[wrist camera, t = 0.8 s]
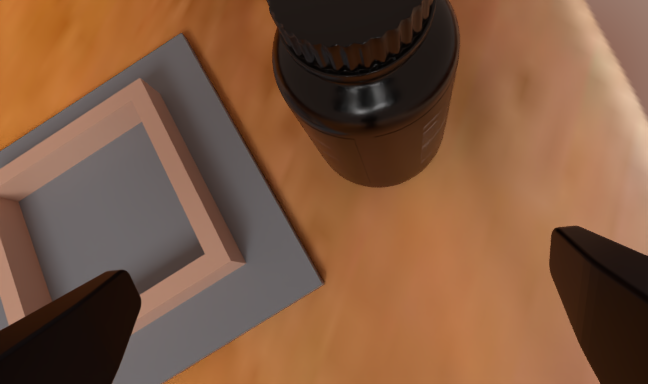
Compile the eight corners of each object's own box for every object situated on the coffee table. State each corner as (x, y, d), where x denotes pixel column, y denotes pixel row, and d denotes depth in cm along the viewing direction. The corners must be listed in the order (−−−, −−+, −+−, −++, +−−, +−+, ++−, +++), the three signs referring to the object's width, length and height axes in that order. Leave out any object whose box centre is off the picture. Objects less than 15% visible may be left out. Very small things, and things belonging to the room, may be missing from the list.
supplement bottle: (397, 52, 23) (390, -175, 12) (468, 146, 21) (542, -18, 10) (296, 116, 24) (194, -45, 12) (356, 214, 22) (303, 132, 10)
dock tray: (324, 284, 21) (313, 283, 19) (40, 458, 22) (-6, 480, 19) (186, 38, 26) (163, 12, 24) (-40, 185, 27) (-85, 175, 25)
